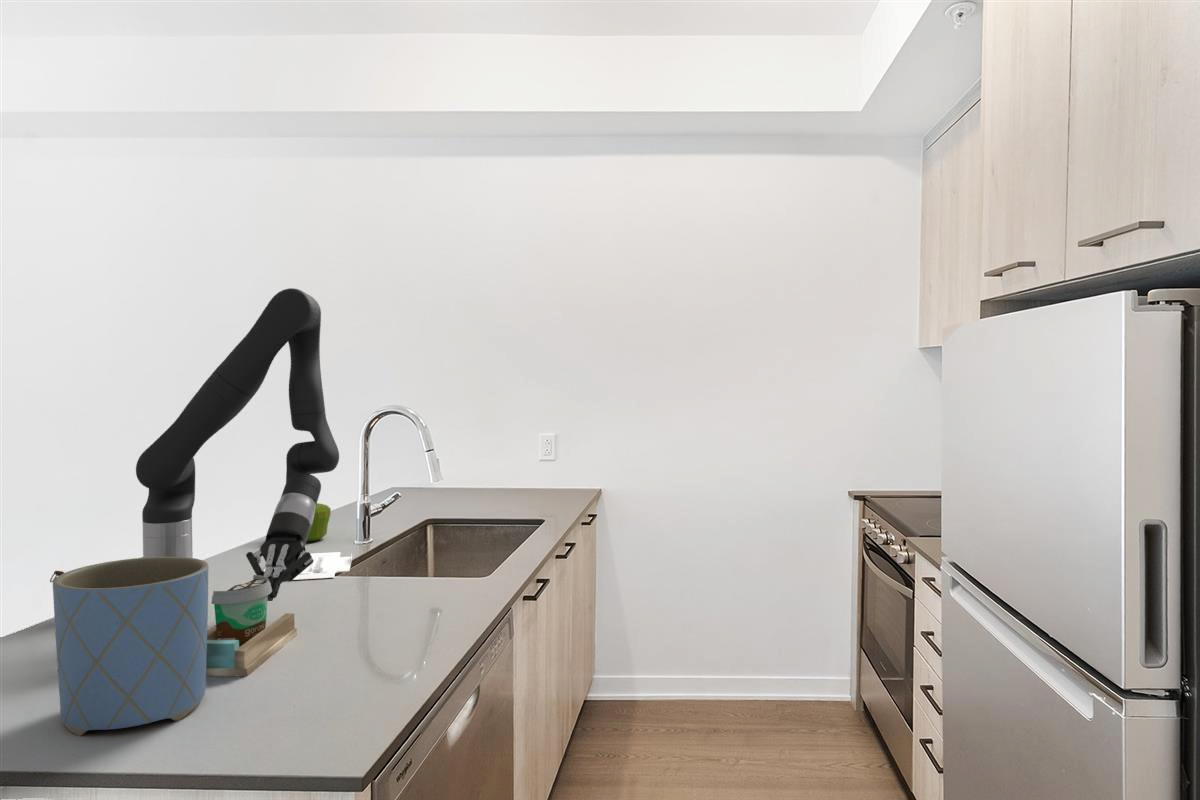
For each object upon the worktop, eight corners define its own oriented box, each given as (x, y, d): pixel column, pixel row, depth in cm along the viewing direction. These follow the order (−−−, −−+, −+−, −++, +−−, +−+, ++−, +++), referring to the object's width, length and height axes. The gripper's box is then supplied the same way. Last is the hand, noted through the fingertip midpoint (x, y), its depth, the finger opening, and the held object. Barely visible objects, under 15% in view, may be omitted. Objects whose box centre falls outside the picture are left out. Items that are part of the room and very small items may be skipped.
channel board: (172, 675, 127) (171, 643, 127) (231, 634, 147) (231, 606, 147) (247, 676, 127) (246, 643, 127) (296, 635, 147) (296, 607, 146)
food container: (244, 652, 134) (244, 593, 133) (212, 650, 135) (211, 591, 135) (286, 629, 146) (285, 575, 146) (256, 627, 147) (255, 574, 147)
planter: (40, 751, 101) (36, 595, 101) (71, 696, 119) (68, 563, 118) (206, 725, 109) (204, 580, 108) (213, 677, 126) (211, 551, 126)
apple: (275, 543, 226) (275, 504, 226) (299, 535, 238) (298, 497, 238) (316, 545, 224) (316, 505, 224) (338, 536, 236) (337, 498, 236)
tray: (255, 586, 183) (255, 570, 183) (272, 563, 210) (272, 549, 210) (349, 580, 188) (349, 564, 188) (353, 558, 215) (353, 545, 215)
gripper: (253, 510, 157) (223, 588, 145) (320, 510, 157) (296, 588, 145) (265, 531, 162) (237, 608, 150) (329, 531, 162) (307, 609, 150)
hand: (266, 598), depth 148 cm, fingers closed
